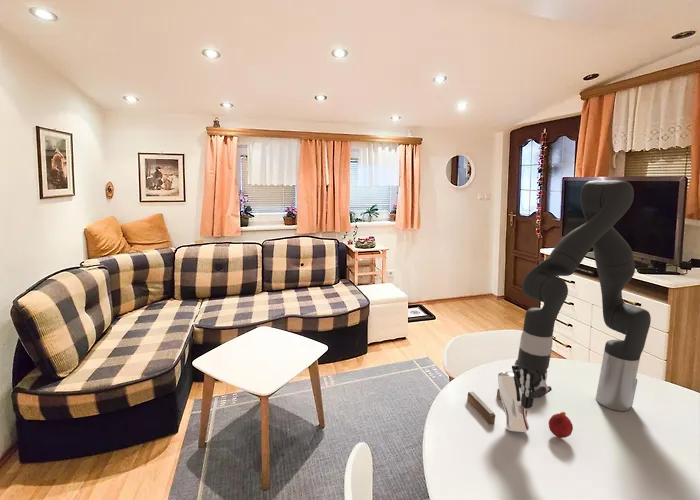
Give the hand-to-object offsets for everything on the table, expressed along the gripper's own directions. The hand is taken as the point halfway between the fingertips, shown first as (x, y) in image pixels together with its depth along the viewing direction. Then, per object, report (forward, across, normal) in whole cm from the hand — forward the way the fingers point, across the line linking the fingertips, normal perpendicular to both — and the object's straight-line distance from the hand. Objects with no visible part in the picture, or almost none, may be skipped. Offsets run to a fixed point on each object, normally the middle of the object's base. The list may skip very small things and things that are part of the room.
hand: (526, 406), depth 104 cm
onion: (+10, -2, -10) cm, 14 cm away
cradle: (+10, +13, -1) cm, 16 cm away
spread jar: (+9, +21, -19) cm, 30 cm away
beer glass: (+9, +2, -1) cm, 9 cm away
